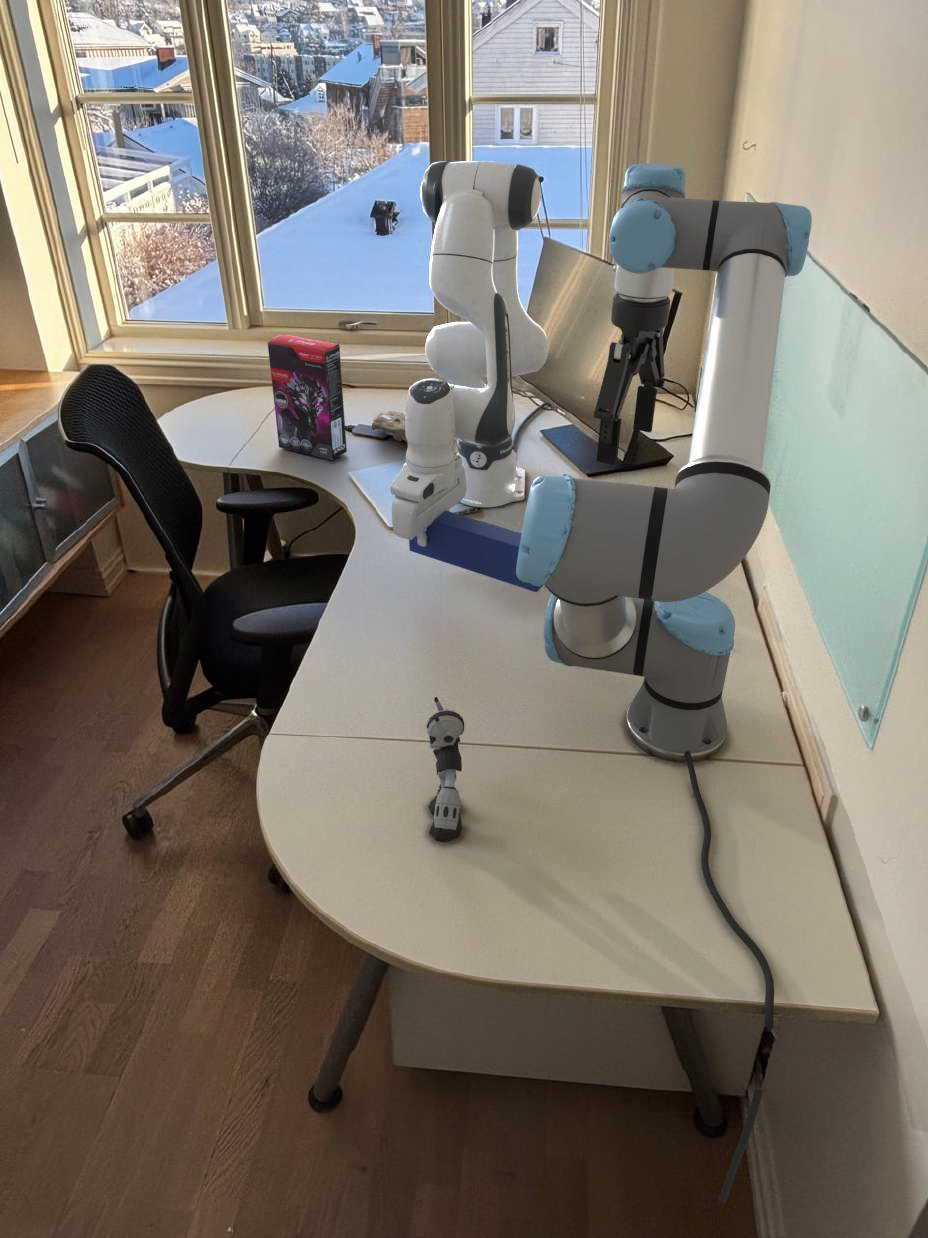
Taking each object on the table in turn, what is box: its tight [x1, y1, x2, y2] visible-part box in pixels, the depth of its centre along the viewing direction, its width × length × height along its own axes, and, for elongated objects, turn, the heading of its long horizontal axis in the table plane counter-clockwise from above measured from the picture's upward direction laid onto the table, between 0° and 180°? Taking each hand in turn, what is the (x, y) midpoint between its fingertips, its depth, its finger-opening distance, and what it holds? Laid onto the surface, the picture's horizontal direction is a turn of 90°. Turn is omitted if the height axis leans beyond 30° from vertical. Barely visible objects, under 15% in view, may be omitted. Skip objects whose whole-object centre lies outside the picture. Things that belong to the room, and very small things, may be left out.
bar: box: [408, 511, 545, 593], centre depth 170 cm, size 27×4×8 cm, turn 59°
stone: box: [371, 410, 408, 443], centre depth 234 cm, size 21×15×6 cm
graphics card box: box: [267, 333, 348, 461], centre depth 223 cm, size 17×7×27 cm, turn 62°
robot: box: [425, 696, 465, 842], centre depth 121 cm, size 20×5×20 cm, turn 3°
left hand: (431, 537), depth 174 cm, fingers closed on bar, 4 cm apart
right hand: (625, 445), depth 133 cm, fingers open, 13 cm apart
